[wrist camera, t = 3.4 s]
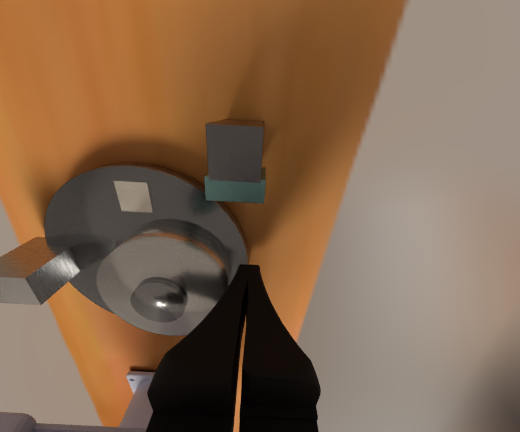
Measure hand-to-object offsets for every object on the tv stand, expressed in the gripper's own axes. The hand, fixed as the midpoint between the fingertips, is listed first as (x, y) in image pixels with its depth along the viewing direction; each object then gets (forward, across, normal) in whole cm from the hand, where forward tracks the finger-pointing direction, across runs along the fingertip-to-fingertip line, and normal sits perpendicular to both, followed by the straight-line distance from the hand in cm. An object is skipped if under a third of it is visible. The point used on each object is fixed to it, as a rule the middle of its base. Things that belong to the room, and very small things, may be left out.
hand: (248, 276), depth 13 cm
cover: (+1, +5, 0) cm, 5 cm away
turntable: (+2, +7, 0) cm, 7 cm away
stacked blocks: (+2, +1, -8) cm, 8 cm away
